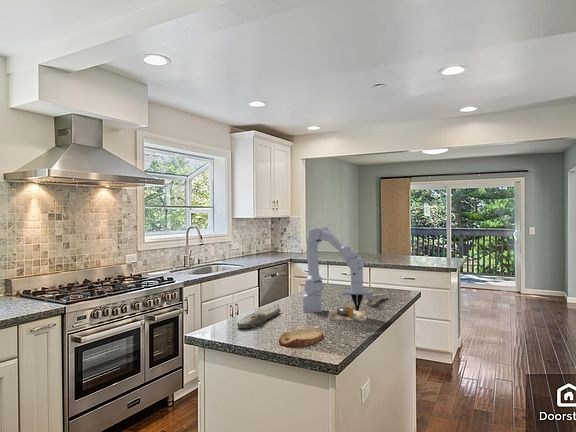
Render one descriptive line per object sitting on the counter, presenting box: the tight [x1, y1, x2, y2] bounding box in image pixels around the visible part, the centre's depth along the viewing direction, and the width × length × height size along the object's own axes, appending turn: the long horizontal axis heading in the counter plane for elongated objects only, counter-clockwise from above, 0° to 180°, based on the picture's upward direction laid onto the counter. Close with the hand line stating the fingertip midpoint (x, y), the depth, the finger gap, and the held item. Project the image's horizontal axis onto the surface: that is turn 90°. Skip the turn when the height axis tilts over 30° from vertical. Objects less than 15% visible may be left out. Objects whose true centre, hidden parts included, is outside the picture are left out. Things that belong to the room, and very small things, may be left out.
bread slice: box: [278, 327, 324, 348], centre depth 155 cm, size 18×18×4 cm
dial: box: [336, 304, 354, 318], centre depth 188 cm, size 13×8×5 cm, turn 11°
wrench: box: [363, 293, 388, 307], centre depth 219 cm, size 8×2×30 cm
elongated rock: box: [236, 307, 281, 329], centre depth 186 cm, size 35×5×10 cm
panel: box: [327, 309, 367, 321], centre depth 189 cm, size 18×18×1 cm
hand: (357, 310), depth 186 cm, fingers closed
